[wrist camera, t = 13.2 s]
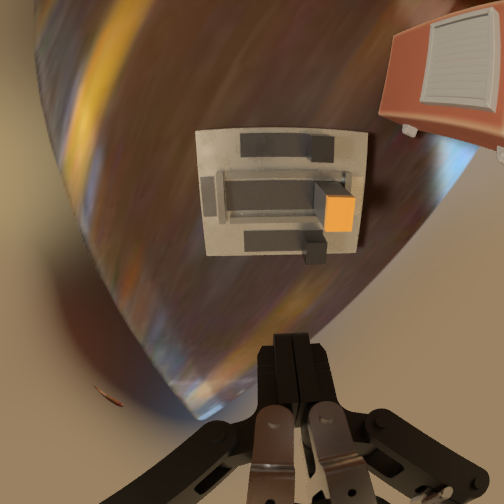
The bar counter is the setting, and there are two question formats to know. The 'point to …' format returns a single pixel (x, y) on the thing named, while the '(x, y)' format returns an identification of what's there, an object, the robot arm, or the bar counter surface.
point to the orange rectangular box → (450, 77)
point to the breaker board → (276, 189)
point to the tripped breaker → (334, 206)
